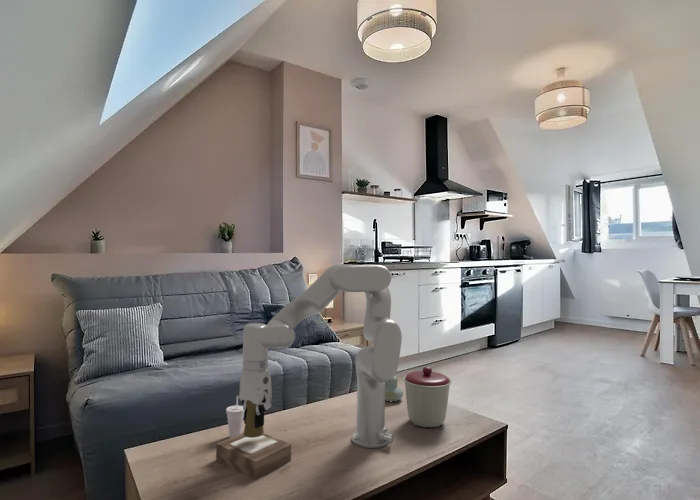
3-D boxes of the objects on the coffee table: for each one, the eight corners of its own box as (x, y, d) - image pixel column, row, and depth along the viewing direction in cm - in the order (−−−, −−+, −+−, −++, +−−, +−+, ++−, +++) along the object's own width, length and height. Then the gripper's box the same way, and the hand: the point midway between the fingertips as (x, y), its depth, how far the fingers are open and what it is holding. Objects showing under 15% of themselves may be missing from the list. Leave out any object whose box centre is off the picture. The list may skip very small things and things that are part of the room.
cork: (253, 439, 124) (254, 401, 124) (239, 434, 127) (240, 398, 127) (268, 432, 129) (268, 396, 129) (253, 427, 132) (254, 392, 132)
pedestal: (290, 460, 128) (291, 442, 128) (255, 479, 117) (255, 460, 117) (252, 444, 139) (252, 427, 139) (216, 460, 128) (216, 442, 128)
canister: (393, 423, 158) (393, 367, 158) (418, 410, 172) (419, 358, 172) (436, 437, 146) (436, 376, 146) (459, 422, 160) (460, 366, 160)
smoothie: (239, 441, 140) (240, 399, 141) (221, 439, 142) (222, 398, 142) (247, 433, 147) (248, 393, 147) (231, 431, 148) (231, 392, 148)
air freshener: (403, 397, 186) (404, 375, 186) (401, 404, 178) (402, 380, 178) (379, 395, 189) (379, 373, 189) (376, 401, 181) (376, 378, 181)
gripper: (283, 366, 126) (282, 428, 126) (247, 357, 136) (246, 414, 136) (264, 372, 120) (263, 436, 120) (228, 362, 130) (226, 421, 130)
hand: (254, 424), depth 128 cm, fingers closed on cork, 4 cm apart
